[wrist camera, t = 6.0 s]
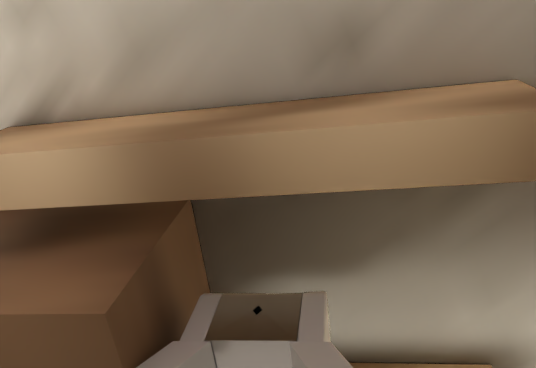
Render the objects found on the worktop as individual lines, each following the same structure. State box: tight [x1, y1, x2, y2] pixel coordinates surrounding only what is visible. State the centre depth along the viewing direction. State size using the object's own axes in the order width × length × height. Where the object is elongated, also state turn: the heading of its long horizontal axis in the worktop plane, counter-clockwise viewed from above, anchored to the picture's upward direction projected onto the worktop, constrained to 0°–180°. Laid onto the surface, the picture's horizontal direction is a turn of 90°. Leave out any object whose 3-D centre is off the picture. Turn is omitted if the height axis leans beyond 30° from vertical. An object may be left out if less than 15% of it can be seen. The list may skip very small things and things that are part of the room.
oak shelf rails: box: [0, 80, 536, 368], centre depth 11 cm, size 12×9×2 cm
